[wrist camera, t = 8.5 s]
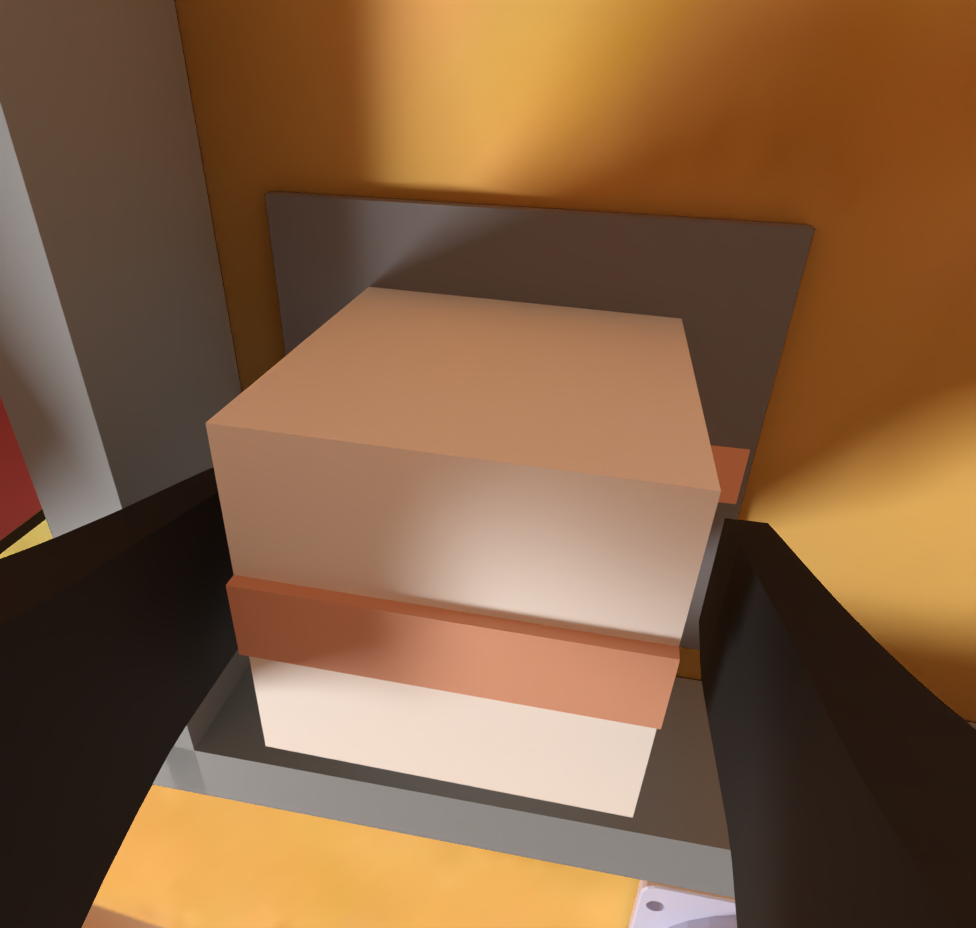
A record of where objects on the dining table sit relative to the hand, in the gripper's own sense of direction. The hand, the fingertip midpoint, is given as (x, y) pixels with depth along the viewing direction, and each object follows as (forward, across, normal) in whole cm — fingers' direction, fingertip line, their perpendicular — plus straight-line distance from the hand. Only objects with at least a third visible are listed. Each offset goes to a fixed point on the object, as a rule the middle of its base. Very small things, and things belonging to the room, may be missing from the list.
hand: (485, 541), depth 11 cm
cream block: (+3, 0, 0) cm, 3 cm away
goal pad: (+3, 0, 0) cm, 3 cm away
